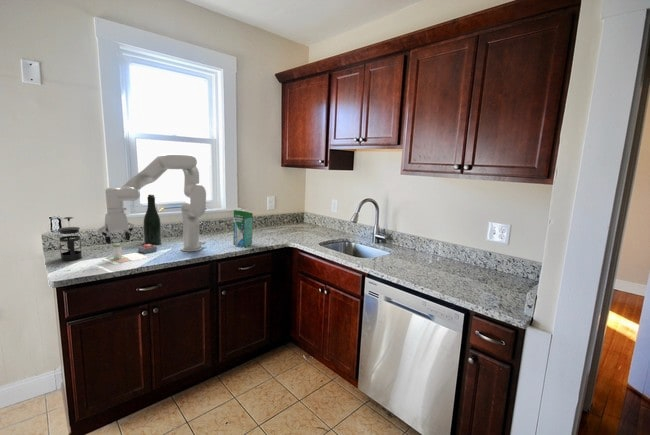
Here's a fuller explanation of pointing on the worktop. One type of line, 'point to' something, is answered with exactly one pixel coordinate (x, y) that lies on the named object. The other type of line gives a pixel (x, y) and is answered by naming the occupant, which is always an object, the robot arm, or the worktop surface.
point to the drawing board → (125, 258)
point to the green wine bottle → (152, 223)
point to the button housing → (147, 249)
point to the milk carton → (242, 228)
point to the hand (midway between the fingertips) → (118, 241)
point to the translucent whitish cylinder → (117, 251)
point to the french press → (70, 243)
